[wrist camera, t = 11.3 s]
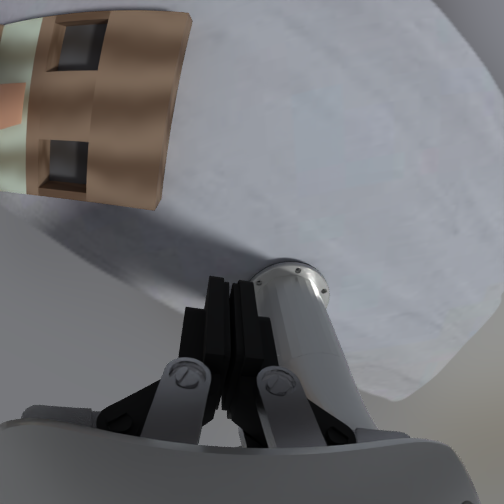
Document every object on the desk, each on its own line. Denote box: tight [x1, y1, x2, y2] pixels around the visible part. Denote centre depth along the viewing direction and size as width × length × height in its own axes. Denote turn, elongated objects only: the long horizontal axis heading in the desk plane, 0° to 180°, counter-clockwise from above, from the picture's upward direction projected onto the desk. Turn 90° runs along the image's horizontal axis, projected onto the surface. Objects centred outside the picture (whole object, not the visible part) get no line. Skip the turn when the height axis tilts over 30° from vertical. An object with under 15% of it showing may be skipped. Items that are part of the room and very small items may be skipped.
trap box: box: [0, 10, 193, 211], centre depth 28 cm, size 22×25×6 cm
